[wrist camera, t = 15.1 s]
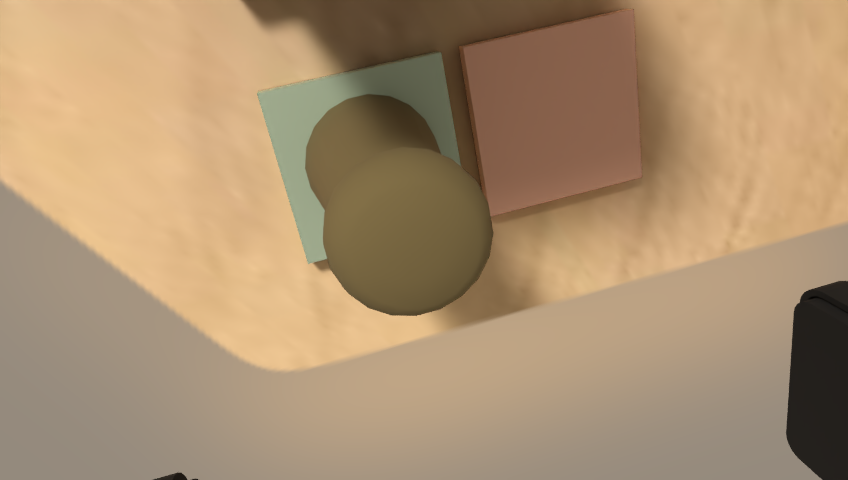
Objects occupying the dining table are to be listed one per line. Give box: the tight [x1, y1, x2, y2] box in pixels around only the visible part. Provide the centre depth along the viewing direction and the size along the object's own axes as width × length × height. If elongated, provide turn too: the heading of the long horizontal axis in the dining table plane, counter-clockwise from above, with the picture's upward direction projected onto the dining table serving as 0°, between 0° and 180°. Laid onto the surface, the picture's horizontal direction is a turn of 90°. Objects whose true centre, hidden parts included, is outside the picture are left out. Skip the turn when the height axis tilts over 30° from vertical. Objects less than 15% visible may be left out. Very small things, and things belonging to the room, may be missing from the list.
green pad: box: [257, 51, 461, 264], centre depth 27 cm, size 8×8×1 cm
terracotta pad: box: [459, 9, 642, 216], centre depth 28 cm, size 8×8×1 cm
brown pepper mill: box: [305, 94, 493, 316], centre depth 22 cm, size 6×6×11 cm
